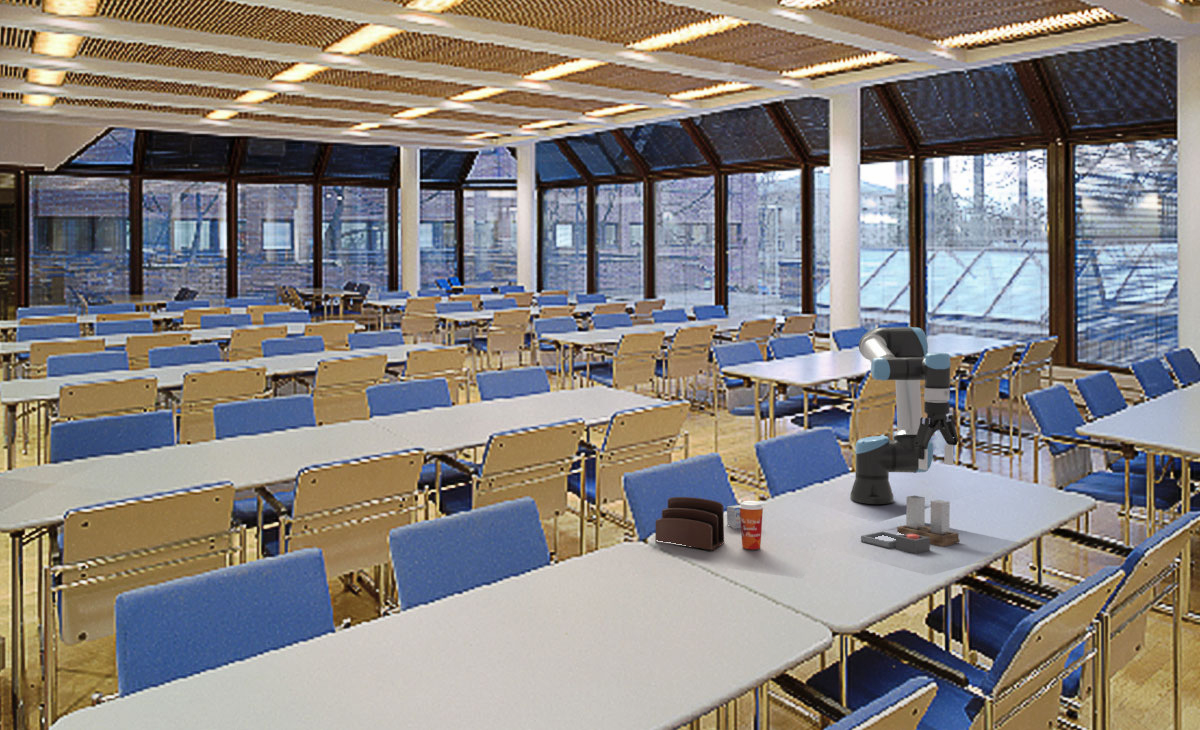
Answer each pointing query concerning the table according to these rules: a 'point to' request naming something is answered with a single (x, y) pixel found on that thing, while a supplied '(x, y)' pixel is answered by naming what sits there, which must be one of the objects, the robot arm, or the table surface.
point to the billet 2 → (940, 517)
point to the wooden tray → (932, 536)
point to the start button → (912, 536)
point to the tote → (886, 544)
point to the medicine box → (733, 516)
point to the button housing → (913, 544)
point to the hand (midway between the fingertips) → (936, 467)
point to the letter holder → (692, 523)
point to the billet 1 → (915, 513)
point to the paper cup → (751, 523)
